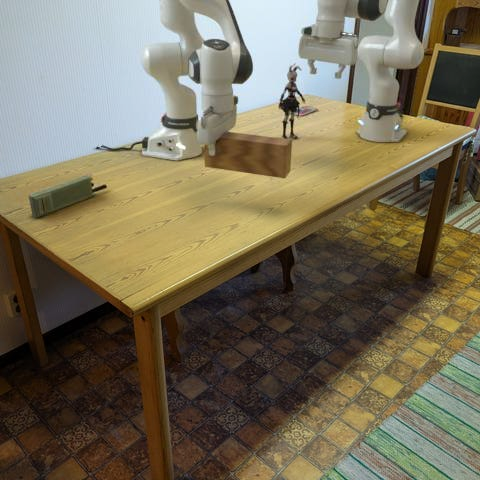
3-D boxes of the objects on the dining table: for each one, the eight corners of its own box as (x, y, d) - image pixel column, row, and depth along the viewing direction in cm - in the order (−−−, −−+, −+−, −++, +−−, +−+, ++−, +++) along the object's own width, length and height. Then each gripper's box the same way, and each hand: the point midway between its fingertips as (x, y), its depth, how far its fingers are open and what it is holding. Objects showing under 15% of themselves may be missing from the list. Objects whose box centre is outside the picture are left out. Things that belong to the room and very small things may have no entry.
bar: (204, 166, 148) (203, 135, 143) (212, 160, 152) (211, 129, 147) (284, 178, 140) (286, 145, 136) (290, 171, 145) (292, 139, 140)
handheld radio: (30, 215, 144) (102, 188, 161) (37, 219, 142) (109, 191, 159) (26, 193, 140) (100, 168, 157) (33, 197, 138) (107, 171, 155)
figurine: (281, 144, 200) (285, 65, 186) (270, 140, 204) (273, 62, 189) (305, 136, 209) (311, 60, 194) (294, 133, 213) (299, 58, 198)
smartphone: (318, 108, 245) (301, 114, 235) (318, 110, 245) (301, 116, 235) (305, 105, 249) (288, 111, 238) (305, 107, 249) (288, 113, 239)
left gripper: (212, 113, 131) (213, 164, 137) (240, 95, 147) (240, 141, 154) (190, 111, 132) (192, 161, 139) (220, 93, 149) (220, 139, 156)
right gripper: (364, 32, 154) (358, 79, 161) (308, 26, 166) (305, 70, 172) (353, 34, 150) (348, 82, 157) (297, 28, 161) (294, 73, 168)
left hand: (217, 150), depth 147 cm, fingers closed on bar, 5 cm apart
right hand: (325, 76), depth 165 cm, fingers open, 8 cm apart
